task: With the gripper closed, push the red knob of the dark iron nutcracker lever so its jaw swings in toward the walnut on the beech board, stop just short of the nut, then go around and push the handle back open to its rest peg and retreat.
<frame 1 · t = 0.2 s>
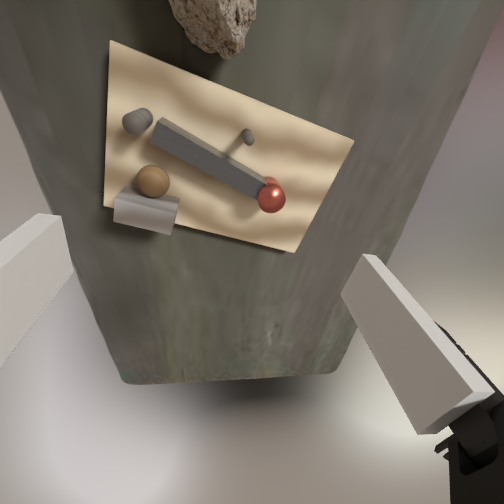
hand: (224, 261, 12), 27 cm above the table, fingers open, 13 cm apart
board: (225, 169, 36), on the table
lever: (224, 168, 32), point 4 cm above the table, hinge at 12.0°
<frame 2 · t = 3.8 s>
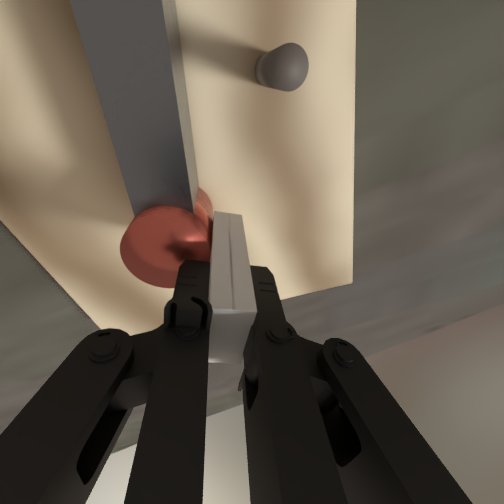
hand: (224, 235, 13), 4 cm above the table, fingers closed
board: (143, 78, 12), on the table
lever: (135, 43, 8), point 4 cm above the table, hinge at 12.5°, touching gripper
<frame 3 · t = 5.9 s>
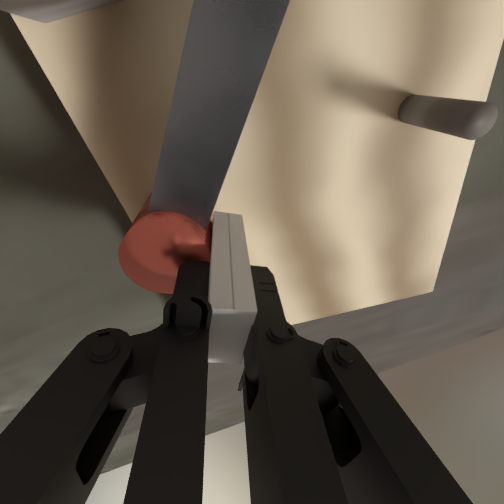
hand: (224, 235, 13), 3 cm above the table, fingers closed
board: (283, 112, 13), on the table
lever: (222, 69, 9), point 4 cm above the table, hinge at 36.0°, touching gripper
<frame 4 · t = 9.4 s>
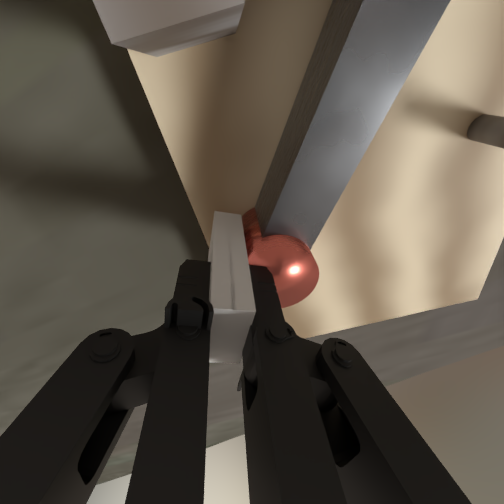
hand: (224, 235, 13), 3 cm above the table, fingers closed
board: (350, 130, 14), on the table
lever: (340, 106, 9), point 4 cm above the table, hinge at 32.6°, touching gripper
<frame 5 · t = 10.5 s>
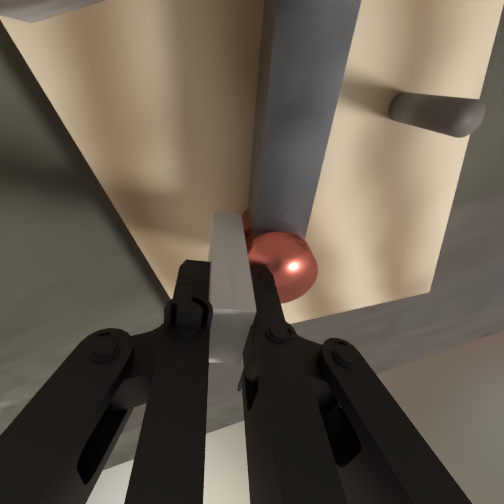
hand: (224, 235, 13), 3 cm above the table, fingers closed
board: (273, 111, 13), on the table
lever: (295, 94, 9), point 4 cm above the table, hinge at 17.9°, touching gripper
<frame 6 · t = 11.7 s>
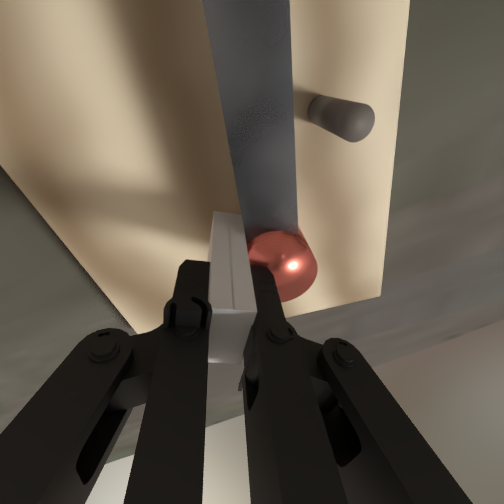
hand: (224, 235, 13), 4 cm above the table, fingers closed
board: (199, 114, 13), on the table
lever: (253, 95, 9), point 4 cm above the table, hinge at 5.1°, touching gripper
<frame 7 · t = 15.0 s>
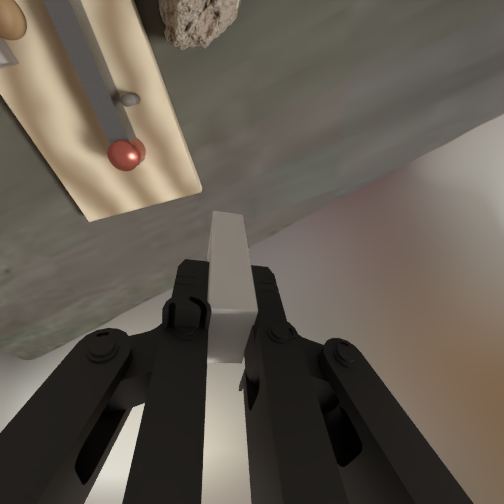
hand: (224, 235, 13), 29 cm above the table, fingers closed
board: (95, 100, 34), on the table
lever: (101, 92, 30), point 4 cm above the table, hinge at 3.4°
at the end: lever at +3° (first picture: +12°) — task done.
